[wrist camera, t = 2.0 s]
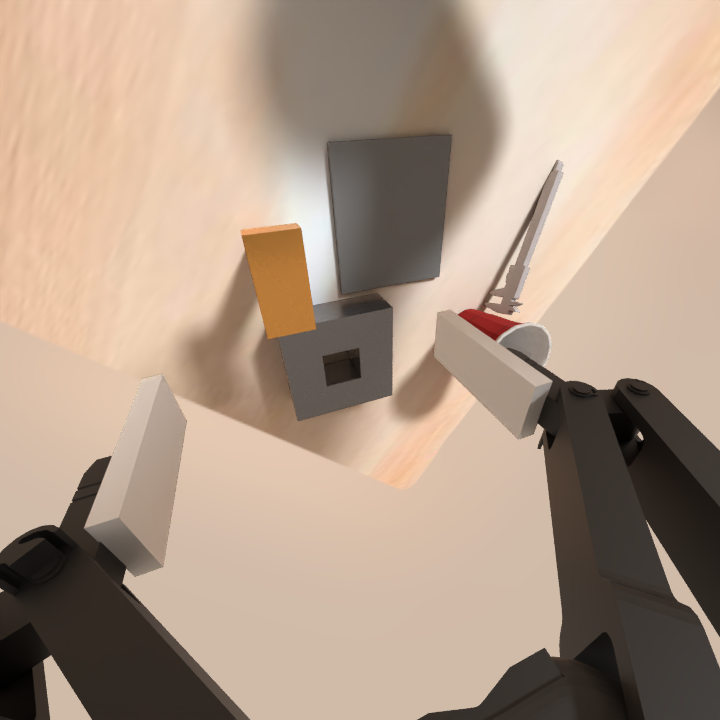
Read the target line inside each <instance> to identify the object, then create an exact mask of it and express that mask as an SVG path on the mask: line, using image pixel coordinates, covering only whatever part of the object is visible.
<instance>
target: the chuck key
mask: <svg viewBox="0 0 720 720" xmlns="http://www.w3.org/2000/svg"><path fill="white" fill-rule="evenodd" d="M241 235H242V239H243V243H244V247H245V251H246V255H247V259H248V263H249V267H250V271H251V275H252V278H253V282H254V286H255V290H256V294H257V298H258V302H259V306H260V310H261V314H262V318H263V322H264V326H265V330H266V334H267V338H268V339H272V338H277V337H281V336H286V335H291V334H296V333H301V332H305V331H310V330H315V329H316V324H315V317H314V311H313V304H312V298H311V291H310V284H309V278H308V271H307V264H306V258H305V251H304V245H303V238H302V231H301V228H300V226H299V225H298V224H297V223H293V224H285V225H277V226H269V227H261V228H253V229H244V230H241Z"/></svg>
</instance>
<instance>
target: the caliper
mask: <svg viewBox="0 0 720 720" xmlns="http://www.w3.org/2000/svg"><path fill="white" fill-rule="evenodd" d="M562 167H563V162H561V161H559V160H557V161H556V163H555V166H554V169H553V171H551V173H550V175H549V177H548V179H547V181H546V183H545V185H544V187H543V190H542V193H541V196H540V198H539V201H538V204H537V207H536V209H535V212H534V215H533V218H532V220H531V223H530V226H529V229H528V231H527V234H526V237H525V239H524V242H523V245H522V247H521V250H520V253H519V256H518V258H517V261H516V264H515V265H511V266H510V268H509V273H508V274H507V276H506V286H505V288H502V289H497V290H492V291H490V293H489V294H490V295H494V296H498V297H503V299H502V302H501V304H495V303H488V302H485V306H487V307H488V308H490V309H492V310H493V311H495V312H497V313H502V314H508V315H512V313H513V311H515V312H519V313H520V311H519V310H518V309H517V308H515V307H513V306H520V305H522V304H523V303H519V302H516V301H515V300H516V299H519V297H520V294H521V291H522V289H523V286H524V283H525V280H526V278H527V275H528V272H529V270H530V268H529V267H528V265H529V263H530V260H531V257H532V255H533V252H534V250H535V247H536V244H537V242H538V239H539V237H540V234H541V231H542V229H543V226H544V223H545V221H546V218H547V216H548V213H549V210H550V208H551V205H552V202H553V200H554V197H555V194H556V192H557V189H558V186H559V184H560V181H561V179H562V176H563V172H561V170H562Z"/></svg>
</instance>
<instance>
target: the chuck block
mask: <svg viewBox="0 0 720 720" xmlns="http://www.w3.org/2000/svg"><path fill="white" fill-rule="evenodd" d="M313 311H314V317H315V324H316V329H315V330H310V331H305V332H301V333H296V334H291V335H286V336H281V337H278V340H279V344H280V348H281V352H282V357H283V361H284V365H285V370H286V374H287V378H288V383H289V387H290V391H291V396H292V400H293V404H294V408H295V411H296V415H297V419H298V421H300V420H304V419H308V418H311V417H315V416H319V415H322V414H326V413H329V412H333V411H337V410H340V409H344V408H347V407H351V406H355V405H358V404H362V403H365V402H369V401H373V400H376V399H380V398H383V397H387V396H391V395H392V337H393V307H391V306H390V305H389V304H388V303H387V302H386V301H385V300H384V299H383V298H382V297H381V296H380V295H379V294H378V293H376V294H371V295H366V296H361V297H355V298H350V299H345V300H339V301H334V302H329V303H324V304H318V305H313ZM347 350H349V353H350V359H347V360H343V361H339V362H335V363H330V364H326V365H324V364H323V357H322V356H325V355H330V354H334V353H338V352H343V351H347Z"/></svg>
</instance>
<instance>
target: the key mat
mask: <svg viewBox="0 0 720 720" xmlns="http://www.w3.org/2000/svg"><path fill="white" fill-rule="evenodd" d="M451 139H452V135H437V136H421V137H404V138H388V139H372V140H355V141H339V142H327V146H328V157H329V168H330V178H331V189H332V200H333V210H334V221H335V232H336V243H337V253H338V264H339V275H340V285H341V293H342V294H348V293H353V292H358V291H364V290H369V289H375V288H380V287H385V286H391V285H396V284H402V283H407V282H412V281H418V280H423V279H429V278H434V277H439V274H440V263H441V251H442V240H443V229H444V218H445V206H446V195H447V184H448V172H449V161H450V150H451Z"/></svg>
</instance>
